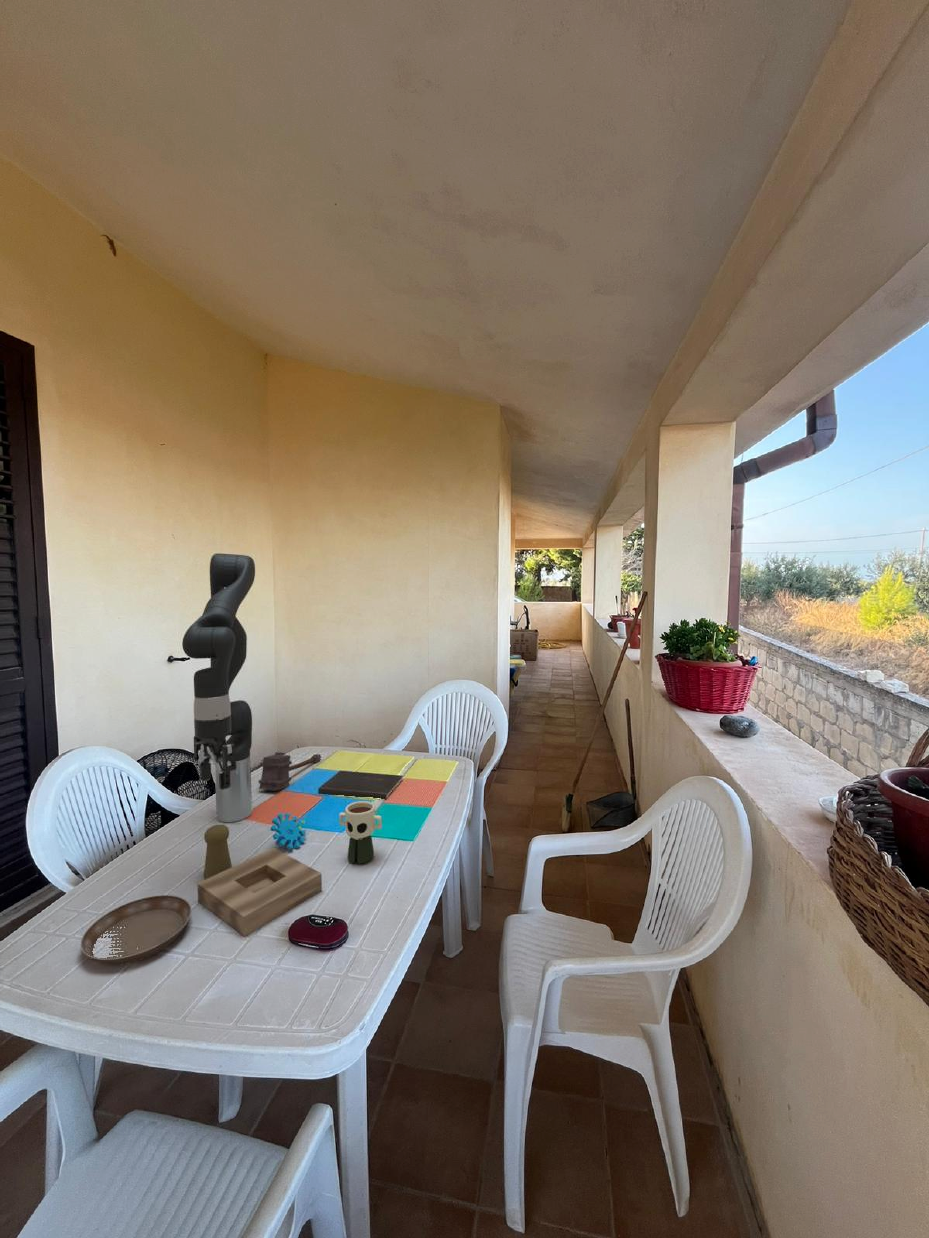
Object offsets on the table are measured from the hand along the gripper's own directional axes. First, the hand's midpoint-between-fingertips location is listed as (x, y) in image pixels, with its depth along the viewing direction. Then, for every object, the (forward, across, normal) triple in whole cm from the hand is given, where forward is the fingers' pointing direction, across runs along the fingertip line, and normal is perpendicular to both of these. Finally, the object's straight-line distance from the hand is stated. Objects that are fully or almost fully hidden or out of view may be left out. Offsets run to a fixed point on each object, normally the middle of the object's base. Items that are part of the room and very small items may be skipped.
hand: (215, 783), depth 117 cm
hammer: (+22, -38, +47) cm, 64 cm away
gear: (+22, +2, +18) cm, 28 cm away
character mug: (+22, +22, +24) cm, 39 cm away
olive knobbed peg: (+22, 0, 0) cm, 22 cm away
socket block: (+21, +16, +1) cm, 27 cm away
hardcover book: (+22, -11, +54) cm, 59 cm away
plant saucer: (+22, +9, -20) cm, 31 cm away
